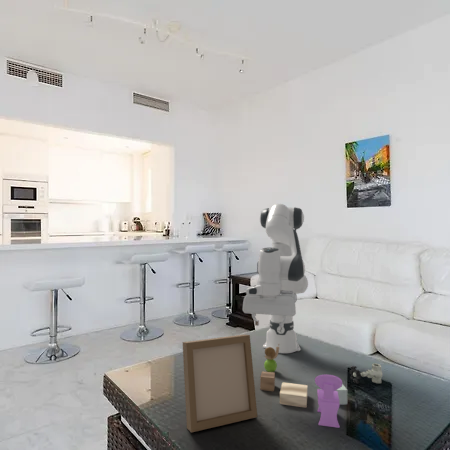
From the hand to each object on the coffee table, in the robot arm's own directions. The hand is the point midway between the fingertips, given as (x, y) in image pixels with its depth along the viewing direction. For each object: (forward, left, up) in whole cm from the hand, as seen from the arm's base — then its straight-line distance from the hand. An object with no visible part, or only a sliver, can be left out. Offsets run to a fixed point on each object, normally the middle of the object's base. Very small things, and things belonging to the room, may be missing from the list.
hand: (268, 326), depth 131 cm
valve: (-15, +38, -23) cm, 47 cm away
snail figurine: (-14, 0, -23) cm, 27 cm away
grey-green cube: (+5, +25, -23) cm, 34 cm away
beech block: (+8, +10, -23) cm, 26 cm away
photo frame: (+24, -14, -23) cm, 37 cm away
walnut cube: (+1, 0, -23) cm, 23 cm away
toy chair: (+18, +21, -23) cm, 36 cm away
